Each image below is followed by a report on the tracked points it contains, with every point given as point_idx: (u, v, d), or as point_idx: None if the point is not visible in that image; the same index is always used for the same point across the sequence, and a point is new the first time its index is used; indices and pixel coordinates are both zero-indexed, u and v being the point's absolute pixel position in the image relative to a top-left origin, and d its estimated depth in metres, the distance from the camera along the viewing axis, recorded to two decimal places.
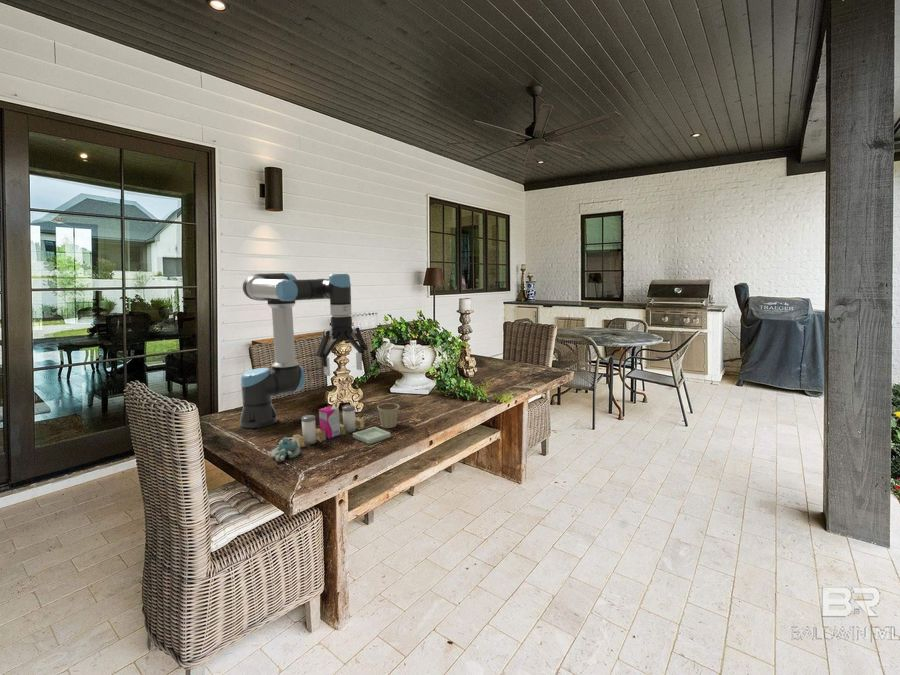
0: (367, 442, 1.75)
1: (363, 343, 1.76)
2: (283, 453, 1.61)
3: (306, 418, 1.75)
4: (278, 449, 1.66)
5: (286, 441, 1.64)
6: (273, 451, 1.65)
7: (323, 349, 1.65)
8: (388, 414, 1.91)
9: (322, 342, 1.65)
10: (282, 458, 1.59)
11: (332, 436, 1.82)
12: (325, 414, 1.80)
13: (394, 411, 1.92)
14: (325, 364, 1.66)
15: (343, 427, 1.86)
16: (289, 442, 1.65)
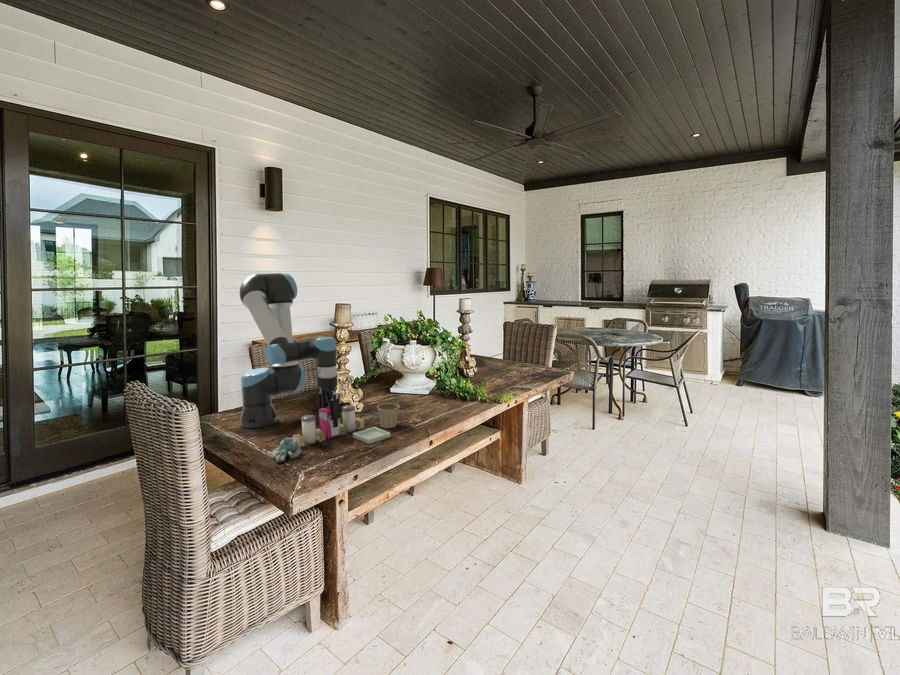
0: (367, 442, 1.75)
1: (334, 411, 1.78)
2: (283, 453, 1.61)
3: (306, 418, 1.75)
4: (279, 449, 1.66)
5: (287, 441, 1.64)
6: (274, 451, 1.65)
7: (318, 405, 1.86)
8: (388, 414, 1.91)
9: None
10: (282, 458, 1.59)
11: (332, 436, 1.82)
12: (325, 414, 1.80)
13: (394, 411, 1.92)
14: None
15: (343, 427, 1.86)
16: (290, 442, 1.64)
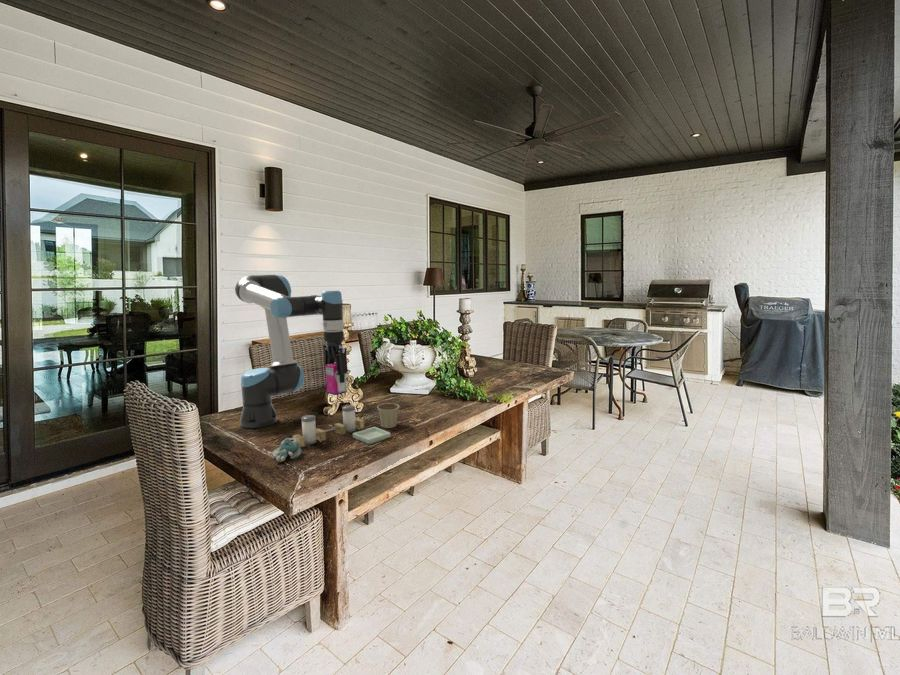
0: (367, 442, 1.75)
1: (340, 365, 1.74)
2: (284, 454, 1.60)
3: (306, 418, 1.75)
4: (280, 449, 1.66)
5: (287, 442, 1.64)
6: (275, 451, 1.65)
7: (325, 362, 1.83)
8: (388, 414, 1.91)
9: None
10: (282, 459, 1.58)
11: (338, 392, 1.78)
12: (332, 369, 1.76)
13: (394, 411, 1.92)
14: None
15: (343, 427, 1.86)
16: (290, 443, 1.64)
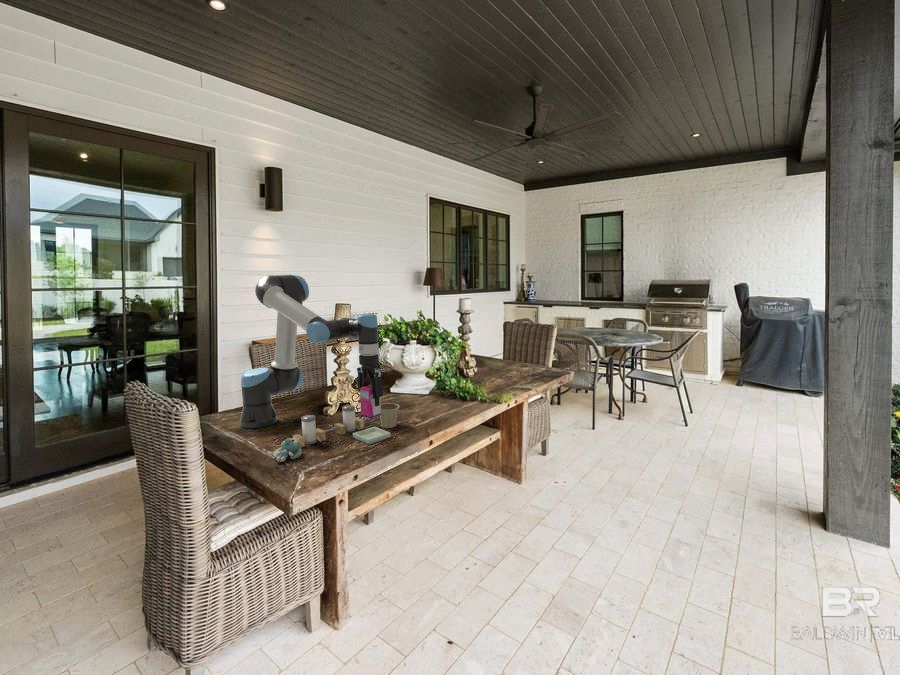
0: (367, 442, 1.75)
1: (376, 389, 1.74)
2: (284, 454, 1.60)
3: (306, 418, 1.75)
4: (281, 450, 1.66)
5: (288, 442, 1.64)
6: (275, 452, 1.65)
7: (358, 385, 1.83)
8: (388, 414, 1.91)
9: None
10: (283, 459, 1.58)
11: (373, 415, 1.78)
12: (367, 392, 1.76)
13: (394, 411, 1.92)
14: None
15: (343, 427, 1.86)
16: (291, 443, 1.64)
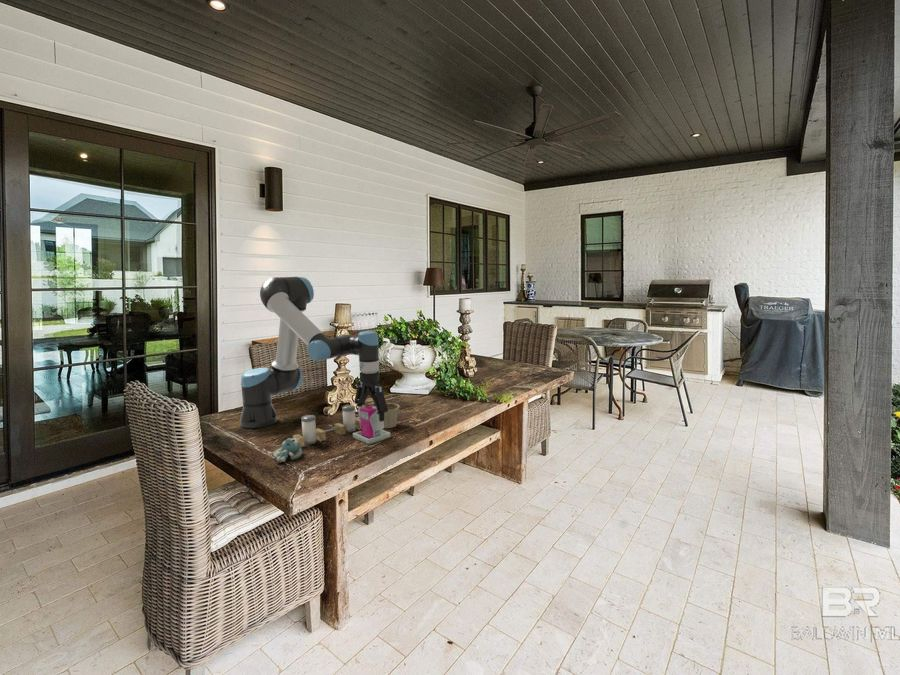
0: (367, 442, 1.75)
1: (380, 404, 1.74)
2: (284, 454, 1.60)
3: (306, 418, 1.75)
4: (281, 450, 1.66)
5: (288, 442, 1.63)
6: (276, 452, 1.64)
7: (356, 397, 1.85)
8: (388, 414, 1.91)
9: None
10: (283, 459, 1.58)
11: (373, 436, 1.80)
12: (367, 413, 1.78)
13: (394, 411, 1.92)
14: None
15: (343, 427, 1.86)
16: (291, 443, 1.64)
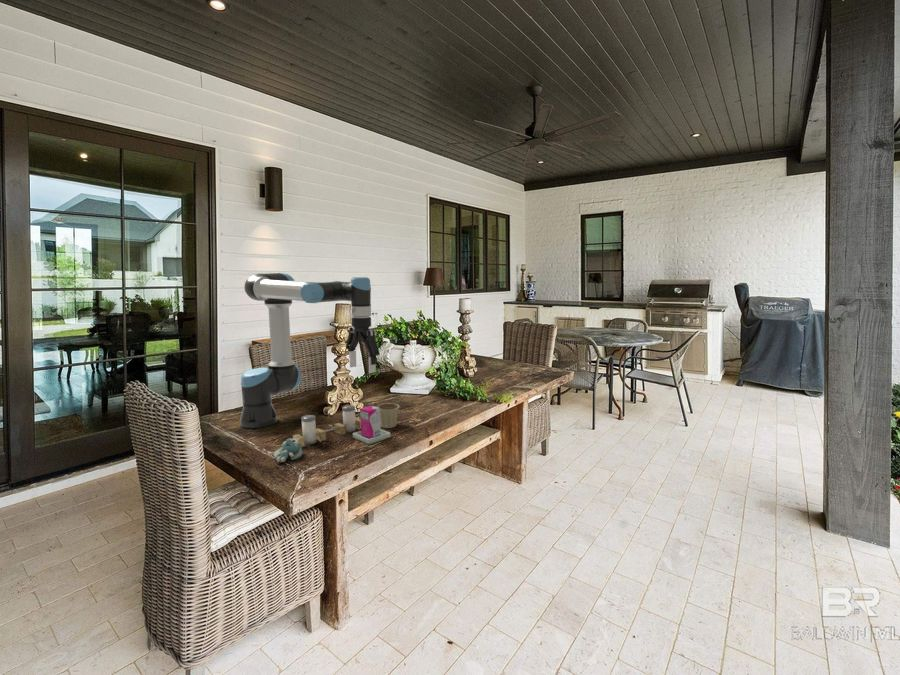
0: (367, 442, 1.75)
1: (371, 347, 1.76)
2: (284, 454, 1.60)
3: (306, 418, 1.75)
4: (282, 450, 1.65)
5: (289, 442, 1.63)
6: (276, 452, 1.64)
7: (347, 342, 1.88)
8: (388, 414, 1.91)
9: None
10: (283, 460, 1.58)
11: (373, 436, 1.80)
12: (367, 413, 1.78)
13: (394, 411, 1.92)
14: None
15: (343, 427, 1.86)
16: (292, 443, 1.63)
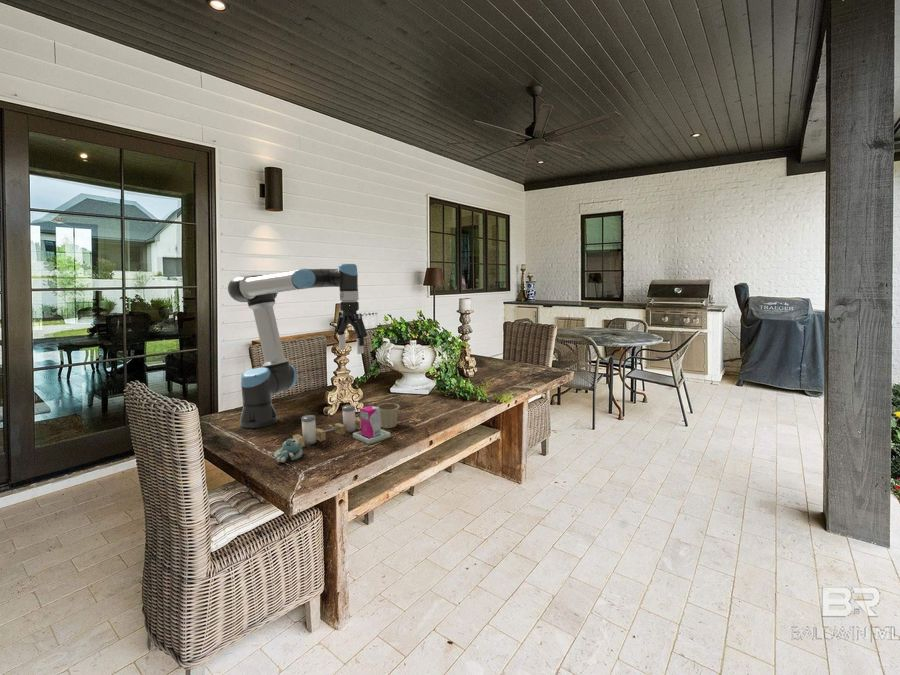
0: (367, 442, 1.75)
1: (359, 329, 1.86)
2: (284, 455, 1.60)
3: (306, 418, 1.75)
4: (282, 450, 1.65)
5: (289, 443, 1.63)
6: (277, 452, 1.64)
7: (337, 327, 1.98)
8: (388, 414, 1.91)
9: None
10: (283, 460, 1.58)
11: (373, 436, 1.80)
12: (367, 413, 1.78)
13: (394, 411, 1.92)
14: None
15: (343, 427, 1.86)
16: (292, 444, 1.63)
